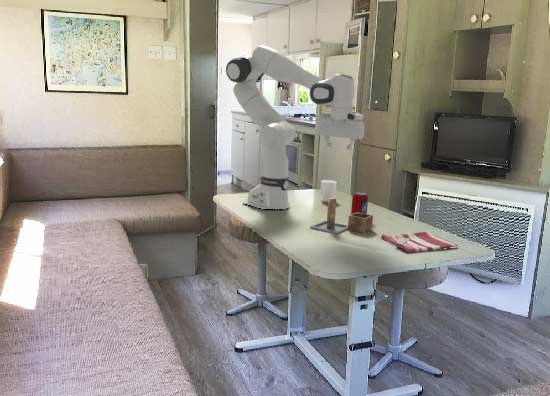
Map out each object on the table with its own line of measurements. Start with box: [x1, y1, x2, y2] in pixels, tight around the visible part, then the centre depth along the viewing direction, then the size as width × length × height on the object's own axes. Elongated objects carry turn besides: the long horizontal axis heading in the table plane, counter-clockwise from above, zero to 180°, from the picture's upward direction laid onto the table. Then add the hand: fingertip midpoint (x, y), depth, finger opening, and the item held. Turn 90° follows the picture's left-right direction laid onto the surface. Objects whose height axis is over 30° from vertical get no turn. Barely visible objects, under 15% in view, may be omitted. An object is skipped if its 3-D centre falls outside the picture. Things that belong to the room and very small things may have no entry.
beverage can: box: [350, 191, 369, 215], centre depth 219 cm, size 7×7×12 cm
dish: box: [309, 220, 349, 235], centre depth 203 cm, size 12×12×1 cm
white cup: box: [320, 179, 338, 203], centre depth 254 cm, size 8×8×10 cm
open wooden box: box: [347, 212, 374, 234], centre depth 202 cm, size 7×7×7 cm
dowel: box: [326, 198, 337, 229], centre depth 202 cm, size 3×3×12 cm
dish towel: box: [380, 231, 459, 254], centre depth 190 cm, size 17×23×3 cm
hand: (338, 148), depth 211 cm, fingers open, 8 cm apart
